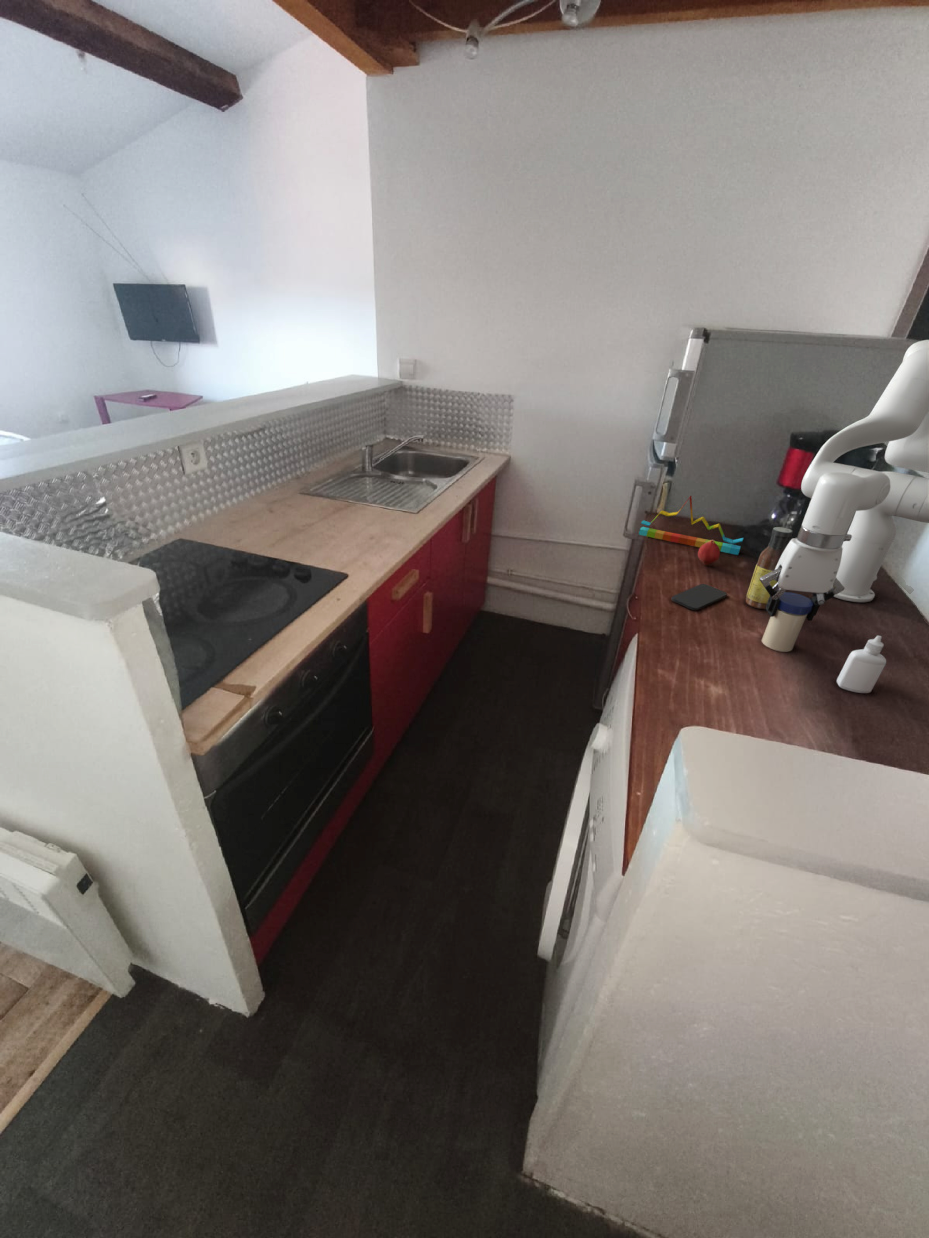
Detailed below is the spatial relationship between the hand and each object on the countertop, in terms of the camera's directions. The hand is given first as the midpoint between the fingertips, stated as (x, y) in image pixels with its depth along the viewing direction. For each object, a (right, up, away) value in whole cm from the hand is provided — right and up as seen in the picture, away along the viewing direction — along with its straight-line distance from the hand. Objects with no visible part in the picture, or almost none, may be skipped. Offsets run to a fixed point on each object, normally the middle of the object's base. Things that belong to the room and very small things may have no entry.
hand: (788, 615), depth 110 cm
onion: (+1, +15, +40) cm, 43 cm away
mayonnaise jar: (0, -6, +4) cm, 7 cm away
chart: (+2, +24, +55) cm, 60 cm away
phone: (-9, +4, +22) cm, 24 cm away
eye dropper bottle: (+7, -15, -9) cm, 18 cm away
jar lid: (0, +3, -2) cm, 3 cm away
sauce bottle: (+5, +3, +20) cm, 21 cm away
